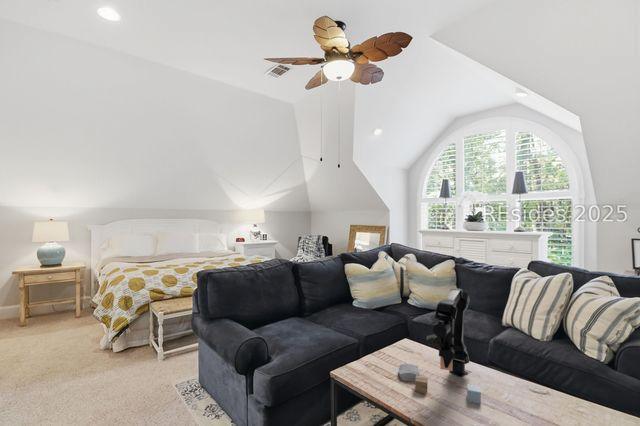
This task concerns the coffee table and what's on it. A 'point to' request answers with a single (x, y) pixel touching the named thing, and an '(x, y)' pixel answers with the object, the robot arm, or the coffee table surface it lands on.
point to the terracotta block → (444, 365)
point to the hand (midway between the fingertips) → (446, 364)
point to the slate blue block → (473, 394)
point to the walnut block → (421, 384)
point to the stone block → (408, 372)
